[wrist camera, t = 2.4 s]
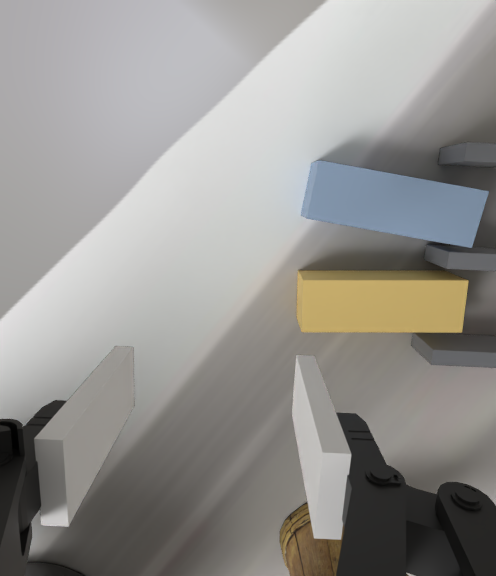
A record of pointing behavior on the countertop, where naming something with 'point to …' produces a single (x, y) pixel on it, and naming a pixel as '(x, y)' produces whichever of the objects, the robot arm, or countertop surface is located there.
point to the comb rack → (455, 257)
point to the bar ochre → (381, 301)
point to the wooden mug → (307, 547)
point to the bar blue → (393, 203)
